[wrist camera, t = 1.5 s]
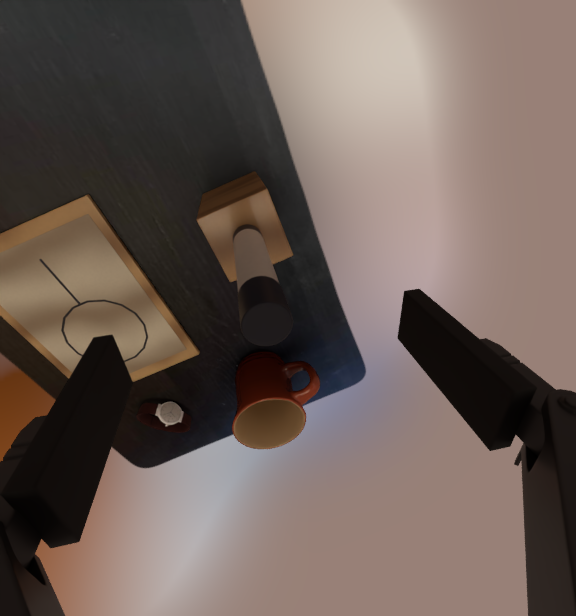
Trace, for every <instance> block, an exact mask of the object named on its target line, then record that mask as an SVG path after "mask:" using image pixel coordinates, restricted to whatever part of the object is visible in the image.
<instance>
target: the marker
mask: <svg viewBox="0 0 576 616" xmlns="http://www.w3.org/2000/svg"><path fill="white" fill-rule="evenodd" d="M233 246H234V256H235V266H236V276H237V285H238V304H239V315H240V325H241V331H242V334H243V335H244V337H245V338H246V339H247V340H248V341H250V342H251V343H253V344H255V345H259V346H271V345H274V344H277V343H279V342H281V341H282V340H284V339H285V338H286V337H287V336H288V335H289V333H290V331H291V329H292V326H293V318H292V315H291V312H290V309H289V306H288V304H287V301H286V298H285V295H284V293H283V290H282V288H281V286H280V284H279V282H278V279H277V276H276V273H275V270H274V268H273V265H272V262H271V259H270V256H269V254H268V251H267V248H266V245H265V242H264V240H263V237H262V234H261V232H260V230H259V229H258V228H257V227H255V226H253V225H250V224H245V225H242V226H240V227H238V228H237V229H236V230H235V232H234V234H233Z"/></svg>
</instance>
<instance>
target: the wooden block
mask: <svg viewBox="0 0 576 616" xmlns="http://www.w3.org/2000/svg"><path fill="white" fill-rule="evenodd" d="M197 222H198V224H199V226H200V228H201V229H202V231H203V233H204V235H205V237H206V239H207V240H208V242H209V244H210V246H211V248H212V250H213V252H214V253H215V255H216V257H217V259H218V261H219V263H220V264H221V266H222V268H223V270H224V272H225V274H226V275H227V277H228V279H229V281H230V282H233V281H235V280H237V276H236V266H235V256H234V246H233V234H234V232H235V230H236V229H237V228H238V227H240V226H242V225H245V224H250V225H253V226H255V227H257V228H258V229H259V230H260V232H261V234H262V237H263V240H264V242H265V245H266V248H267V251H268V254H269V256H270V259H271V262H272V264H275V263H277V262H279V261H282V260H284V259H286V258H289V257H291V256H293V253H292V250H291V248H290V245H289V243H288V240H287V238H286V235H285V232H284V230H283V227H282V225H281V222H280V220H279V217H278V215H277V212H276V210H275V207H274V204H273V202H272V199H271V197H270V194H269V192H268V189H267V188H266V186H265V185H264V183H263V182H262V180H261V179H260V177H259V176H258V174H257V173H256V172H255V171H254V172H252V173H249V174H247V175H245V176H242V177H240V178H238V179H236V180H233V181H231V182H229V183H227V184H224V185H222V186H220V187H217V188H215V189H213V190H211V191H208V192H206V193H204V194H203V195H202V199H201V203H200V207H199V211H198V215H197Z"/></svg>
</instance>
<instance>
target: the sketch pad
mask: <svg viewBox="0 0 576 616" xmlns="http://www.w3.org/2000/svg"><path fill="white" fill-rule="evenodd" d="M0 316H2V317H3V318H4V319H5V320H6V321H7V322H8V323H9V324H10V325H11V326H12V327H13V328H15V329H16V330H17V331H18V332H19V333H20V334H21V335H22V336H23V337H24V338H25V339H26V340H28V341H29V342H30V343H31V344H32V345H33V346H34V347H35V348H36V349H37V350H38V351H39V352H41V353H42V354H43V355H44V356H45V357H46V358H47V359H48V360H49V361H50V362H51V363H53V364H54V365H55V366H56V367H57V368H58V369H59V370H60V371H61V372H62V373H63V374H64V375H66V376H67V377H68V378H70V376H71V374H72V373H73V371H74V369H75V368H76V366H77V364H78V362H79V361H80V359H81V357H82V356H83V354H84V352H85V351H86V349H87V347H88V346H89V344H90V342H91V341H92V339H93V337H99V336H105V335H112V334H113V336H114V339H115V341H116V343H117V346H118V348H119V351H120V353H121V355H122V358H123V360H124V362H125V365H126V367H127V369H128V372H129V374H130V376H131V379H132V381H133V382H134V381H136V380H139V379H141V378H144V377H146V376H148V375H151V374H153V373H155V372H158V371H160V370H163V369H165V368H167V367H170V366H172V365H174V364H177V363H179V362H182V361H184V360H186V359H189V358H191V357H193V356H196V355H198V354H199V353H200V351H199V350H198V348H197V347H196V346H195V344H194V343H193V341H192V340H191V338H190V337H189V336H188V334H187V333H186V331H185V330H184V329H183V327H182V326H181V324H180V323H179V321H178V320H177V319H176V317H175V316H174V314H173V313H172V311H171V310H170V309H169V307H168V306H167V304H166V303H165V302H164V300H163V299H162V297H161V296H160V294H159V293H158V292H157V290H156V289H155V287H154V286H153V284H152V283H151V282H150V280H149V279H148V277H147V276H146V275H145V273H144V272H143V270H142V269H141V267H140V266H139V265H138V263H137V262H136V260H135V259H134V257H133V256H132V255H131V253H130V252H129V250H128V249H127V248H126V246H125V245H124V243H123V242H122V240H121V239H120V238H119V236H118V235H117V233H116V232H115V231H114V229H113V228H112V226H111V225H110V223H109V222H108V221H107V219H106V218H105V216H104V215H103V213H102V212H101V211H100V209H99V208H98V206H97V205H96V204H95V202H94V201H93V199H92V198H91V196H90V195H89V194H88V195H85V196H83V197H81V198H79V199H77V200H74V201H72V202H70V203H68V204H65V205H63V206H61V207H59V208H56V209H54V210H52V211H50V212H47V213H45V214H43V215H41V216H38V217H36V218H34V219H32V220H29V221H27V222H25V223H23V224H20V225H18V226H16V227H14V228H12V229H9V230H7V231H5V232H3V233H0Z"/></svg>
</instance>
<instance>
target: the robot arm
mask: <svg viewBox="0 0 576 616" xmlns="http://www.w3.org/2000/svg"><path fill="white" fill-rule="evenodd" d="M398 339H399V341H400V342H401V343H402V344H403V345H404V347H405V348H406V349H407V350H408V352H409V353H410V354H411V355H412V356H413V358H414V359H415V360H416V361H417V363H418V364H419V365H420V366H421V367H422V368H423V370H424V371H425V372H426V373H427V375H428V376H429V377H430V378H431V380H432V381H433V382H434V383H435V384H436V386H437V387H438V388H439V389H440V391H442V393H443V394H444V395H445V396H446V398H447V399H448V400H449V402H450V403H451V404H452V405H453V406H454V408H455V409H456V410H457V411H458V412H459V414H460V415H461V416H462V417H463V419H464V420H465V421H466V422H467V424H468V425H469V426H470V427H471V428H472V429H473V431H474V432H475V433H476V434H477V436H478V437H479V438H480V439H481V441H483V443H484V444H485V445H486V447H487V448H488V449H489V450H490V451H491V450H496V449H501V448H505V447H510V446H511V444H512V441H513V439H514V437H515V435H517V436H518V437H519V438H520V439H521V440H522V441H523V442H524V443H523V445H522V448H521V450H520V452H519V454H518V456H517V458H516V460H515V463H514V464H515V465H517V466H518V465H519V463H520V461H521V460H522V481H523V505H524V528H525V548H526V549H525V551H526V572H527V597H528V616H576V393H575V392H572V391H567V390H561V389H560V390H556V389H554V388H553V387H552V386H551V385H549V384H548V383H547V382H546V381H544V380H543V379H542V378H541V377H539V376H538V375H537V374H536V373H534V372H533V371H532V370H531V369H529V368H528V367H527V366H525V365H524V364H523V363H520V361H519V360H518V359H517V358H515V357H514V356H511V354H510V353H509V352H508V351H507V350H505V349H504V348H503V347H502V346H500V345H499V344H497V343H494V342H492V341H490V340H488V339H486V338H485V339H479V338H477V337H476V336H475V335H474V334H473V333H471V332H470V331H469V330H468V329H466V328H465V327H464V326H463V325H462V324H461V323H459V322H458V321H457V320H456V319H455V318H454V317H452V316H451V315H450V314H449V313H447V312H446V311H445V310H444V309H443V308H442V307H440V306H439V305H438V304H437V303H436V302H434V301H433V300H432V299H431V298H430V297H428V296H427V295H426V294H425V293H424V292H422V291H421V290H420V289H415V290H408V291H404V297H403V304H402V311H401V318H400V325H399V332H398ZM132 384H133V381H132V379H131V376H130V374H129V372H128V369H127V367H126V365H125V362H124V360H123V358H122V355H121V353H120V351H119V348H118V346H117V343H116V341H115V339H114V336H113V334H112V335H105V336H99V337H93V339H92V341H91V342H90V344H89V346H88V347H87V349H86V351H85V352H84V354H83V356H82V357H81V359H80V361H79V362H78V364H77V366H76V368H75V369H74V371H73V373H72V374H71V376H70V378H69V379H68V381H67V383H66V384H65V386H64V388H63V389H62V391H61V393H60V394H59V396H58V398H57V400H56V401H55V403H54V405H53V406H52V408H51V410H50V412H49V413H48V415H47V416H41V417H35V418H34V419H33V420H32V421H31V422H30V423H29V424H28V425H27V426H26V427H25V428H23V429H22V430H21V431H20V433H19V434H18V436H17V437H16V439H15V440H14V442H13V444H12V445H11V449H9V450H8V451H7V453H6V454H5V456H4V457H3V461H1V462H0V616H65V614H64V612H63V610H62V608H61V605H60V603H59V601H58V599H57V596H56V594H55V592H54V590H53V588H52V586H51V583H50V582H49V579H48V576H47V574H46V572H45V570H44V568H43V565H42V563H41V561H40V559H39V558H38V557H37V556H36V555H35V552H36V550H37V547H38V545H39V543H40V540H41V538H42V539H43V541H44V542H46V544H47V545H48V546H49V547H50V548H54V547H58V546H62V545H68V544H72V543H76V542H79V541H80V538H81V535H82V532H83V529H84V526H85V523H86V520H87V517H88V514H89V511H90V508H91V506H92V503H93V500H94V497H95V494H96V491H97V488H98V485H99V482H100V479H101V476H102V473H103V470H104V467H105V464H106V461H107V458H108V455H109V452H110V449H111V446H112V443H113V440H114V438H115V435H116V432H117V429H118V426H119V423H120V420H121V417H122V414H123V411H124V408H125V405H126V402H127V399H128V396H129V393H130V390H131V387H132Z"/></svg>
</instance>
